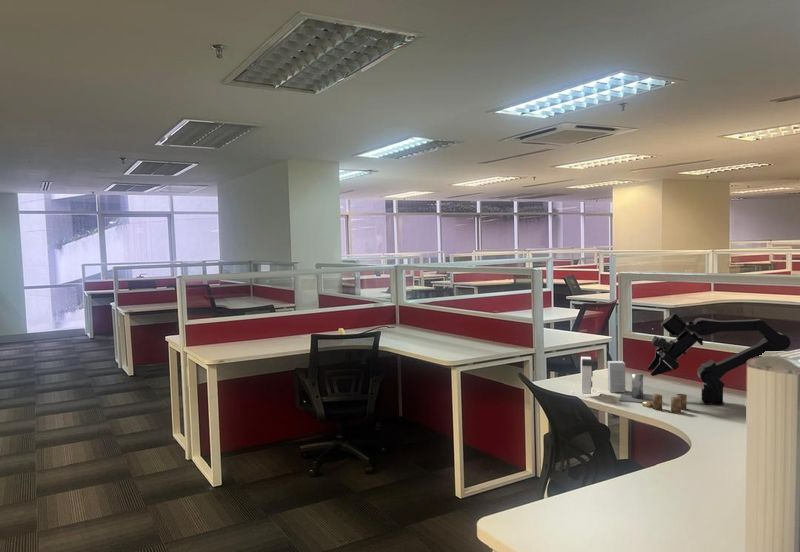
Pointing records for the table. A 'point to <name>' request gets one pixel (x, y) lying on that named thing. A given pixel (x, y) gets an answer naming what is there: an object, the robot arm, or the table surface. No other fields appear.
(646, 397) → the mat
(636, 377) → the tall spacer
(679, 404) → the spacer
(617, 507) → the table surface
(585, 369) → the narrow upright pillar
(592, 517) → the table surface
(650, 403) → the nut
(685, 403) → the spacer
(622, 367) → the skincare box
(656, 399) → the spacer
